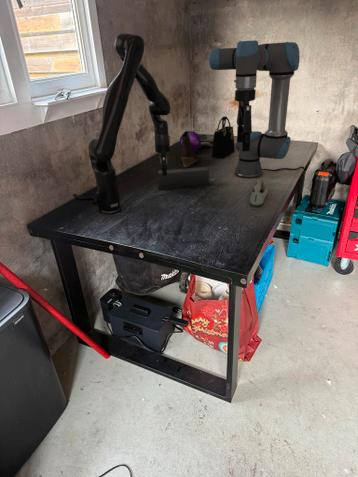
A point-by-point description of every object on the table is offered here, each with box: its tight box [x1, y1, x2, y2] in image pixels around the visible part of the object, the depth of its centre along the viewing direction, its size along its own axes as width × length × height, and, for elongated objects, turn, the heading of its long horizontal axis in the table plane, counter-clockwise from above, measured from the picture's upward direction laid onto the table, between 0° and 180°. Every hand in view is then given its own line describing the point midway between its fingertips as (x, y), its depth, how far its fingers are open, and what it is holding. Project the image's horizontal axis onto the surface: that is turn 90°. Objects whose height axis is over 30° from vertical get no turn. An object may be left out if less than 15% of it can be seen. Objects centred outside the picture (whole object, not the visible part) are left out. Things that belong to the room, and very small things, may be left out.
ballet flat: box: [249, 179, 269, 207], centre depth 158 cm, size 8×24×8 cm, turn 163°
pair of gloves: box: [199, 133, 214, 149], centre depth 252 cm, size 30×26×5 cm
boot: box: [180, 130, 198, 169], centre depth 209 cm, size 9×24×20 cm, turn 168°
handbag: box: [211, 115, 236, 159], centre depth 219 cm, size 21×9×25 cm, turn 148°
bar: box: [157, 166, 210, 191], centre depth 176 cm, size 27×5×9 cm, turn 96°
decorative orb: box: [178, 130, 202, 153], centre depth 230 cm, size 15×15×15 cm
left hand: (164, 173), depth 174 cm, fingers open, 8 cm apart
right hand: (242, 146), depth 133 cm, fingers open, 13 cm apart
